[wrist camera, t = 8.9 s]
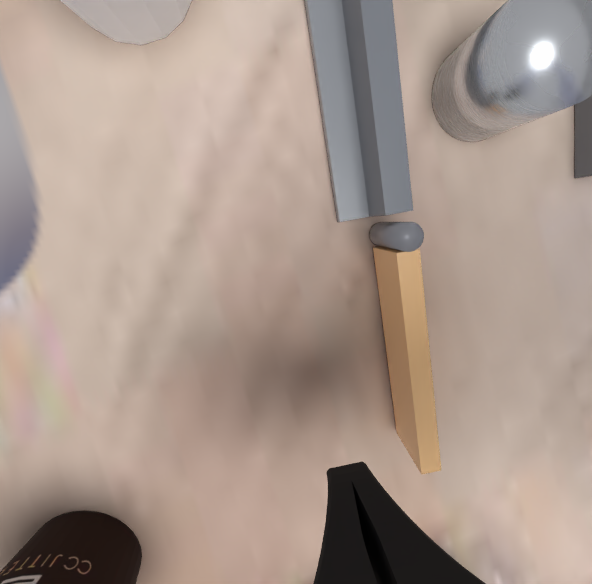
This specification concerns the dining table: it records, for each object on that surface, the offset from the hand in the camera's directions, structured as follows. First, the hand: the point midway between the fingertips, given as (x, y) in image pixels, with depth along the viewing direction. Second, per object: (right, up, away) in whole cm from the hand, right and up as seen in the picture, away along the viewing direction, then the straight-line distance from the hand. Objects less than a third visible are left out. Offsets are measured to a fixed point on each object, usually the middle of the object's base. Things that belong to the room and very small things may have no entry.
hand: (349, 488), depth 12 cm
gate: (+3, +5, +6) cm, 9 cm away
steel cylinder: (+7, +17, +4) cm, 19 cm away
